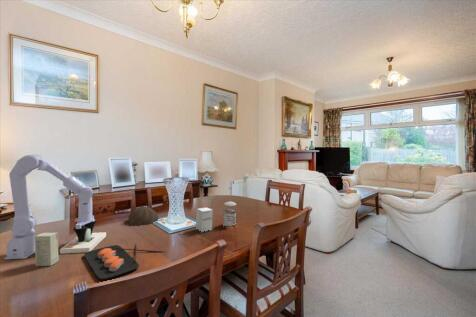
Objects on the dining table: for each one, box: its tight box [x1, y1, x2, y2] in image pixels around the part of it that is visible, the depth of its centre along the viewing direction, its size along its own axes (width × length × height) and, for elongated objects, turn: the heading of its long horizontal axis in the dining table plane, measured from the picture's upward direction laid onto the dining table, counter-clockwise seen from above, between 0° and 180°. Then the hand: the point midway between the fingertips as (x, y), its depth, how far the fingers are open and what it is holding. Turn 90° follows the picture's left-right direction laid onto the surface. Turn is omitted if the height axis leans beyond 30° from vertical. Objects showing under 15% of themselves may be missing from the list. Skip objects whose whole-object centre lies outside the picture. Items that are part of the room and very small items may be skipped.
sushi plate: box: [83, 244, 164, 280], centre depth 101 cm, size 29×30×4 cm
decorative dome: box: [126, 206, 160, 227], centre depth 151 cm, size 19×20×10 cm
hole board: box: [59, 232, 107, 255], centre depth 112 cm, size 20×12×2 cm, turn 11°
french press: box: [219, 186, 237, 226], centre depth 147 cm, size 10×12×25 cm
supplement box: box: [195, 207, 213, 233], centre depth 137 cm, size 7×7×13 cm
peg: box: [84, 229, 91, 242], centre depth 112 cm, size 4×4×7 cm
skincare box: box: [34, 232, 60, 267], centre depth 93 cm, size 6×4×12 cm
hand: (85, 238), depth 112 cm, fingers open, 7 cm apart
